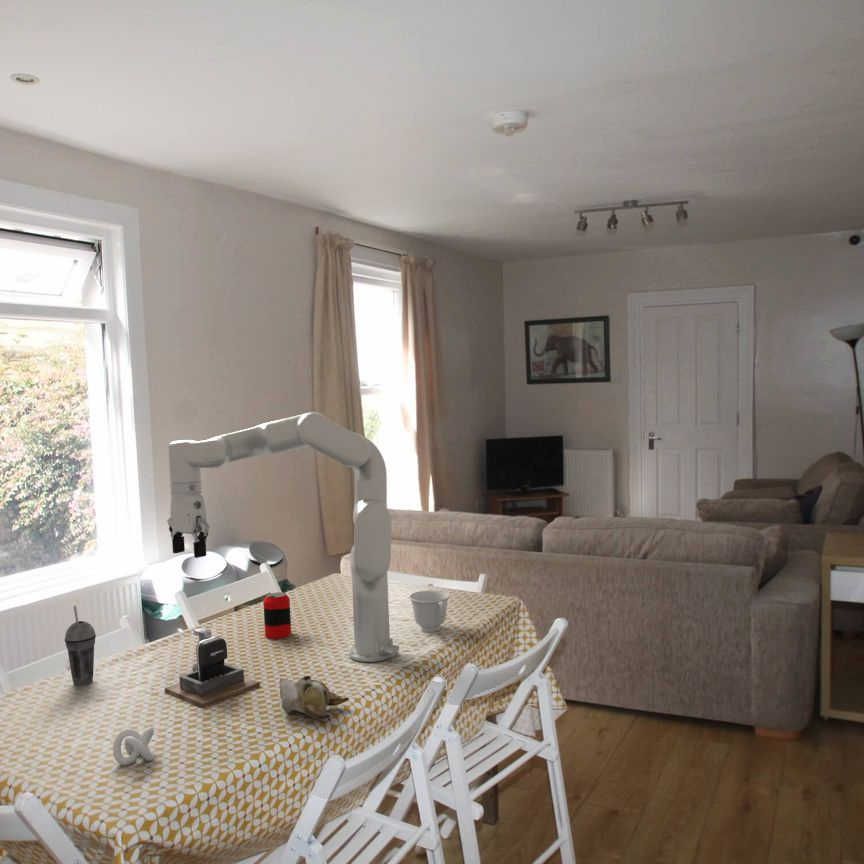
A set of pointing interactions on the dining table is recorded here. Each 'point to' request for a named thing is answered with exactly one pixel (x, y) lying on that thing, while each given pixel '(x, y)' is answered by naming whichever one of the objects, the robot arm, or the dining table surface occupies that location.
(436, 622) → the teacup
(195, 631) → the post
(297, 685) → the ceramic sculpture
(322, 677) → the dining table surface
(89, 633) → the beverage cup
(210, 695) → the holder
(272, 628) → the soda can
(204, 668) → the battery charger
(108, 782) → the dining table surface
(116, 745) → the knot
